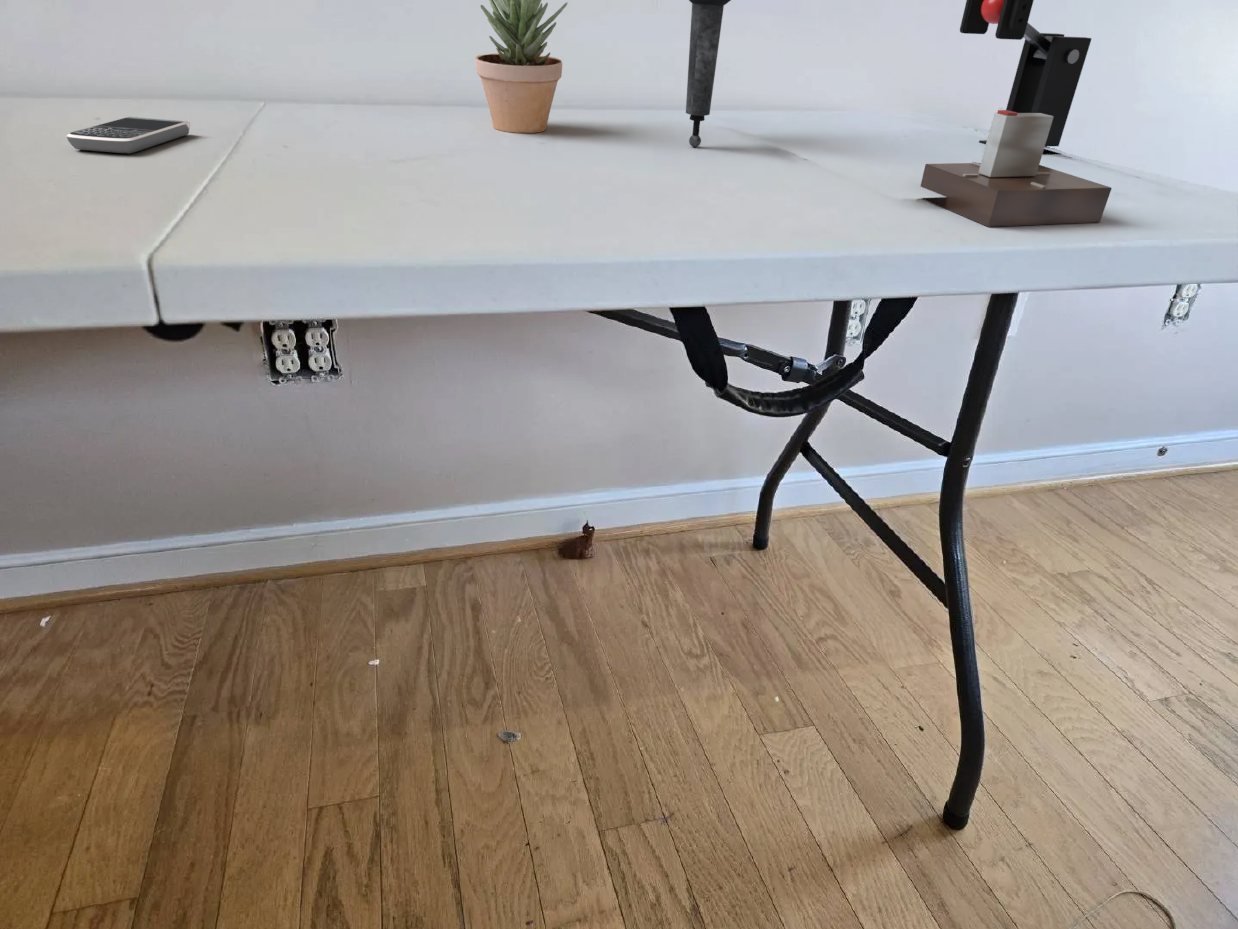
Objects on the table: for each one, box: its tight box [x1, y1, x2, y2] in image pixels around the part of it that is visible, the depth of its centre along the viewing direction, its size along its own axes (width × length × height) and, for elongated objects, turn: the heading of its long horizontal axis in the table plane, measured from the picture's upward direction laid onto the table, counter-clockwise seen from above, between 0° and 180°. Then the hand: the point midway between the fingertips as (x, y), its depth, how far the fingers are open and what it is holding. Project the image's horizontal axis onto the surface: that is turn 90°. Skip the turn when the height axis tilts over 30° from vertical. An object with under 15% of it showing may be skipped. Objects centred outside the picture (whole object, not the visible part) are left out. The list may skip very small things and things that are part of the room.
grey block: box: [978, 109, 1053, 177], centre depth 74 cm, size 5×2×5 cm, turn 108°
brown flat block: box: [920, 161, 1113, 228], centre depth 76 cm, size 12×10×3 cm
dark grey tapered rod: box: [685, 0, 732, 148], centre depth 89 cm, size 7×7×20 cm
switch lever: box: [981, 0, 1053, 66], centre depth 92 cm, size 13×3×3 cm, turn 107°
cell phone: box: [66, 116, 191, 155], centre depth 80 cm, size 6×11×1 cm, turn 174°
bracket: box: [978, 32, 1092, 156], centre depth 96 cm, size 8×7×13 cm
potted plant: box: [475, 0, 568, 134], centre depth 91 cm, size 10×10×25 cm
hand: (990, 33), depth 91 cm, fingers open, 5 cm apart
